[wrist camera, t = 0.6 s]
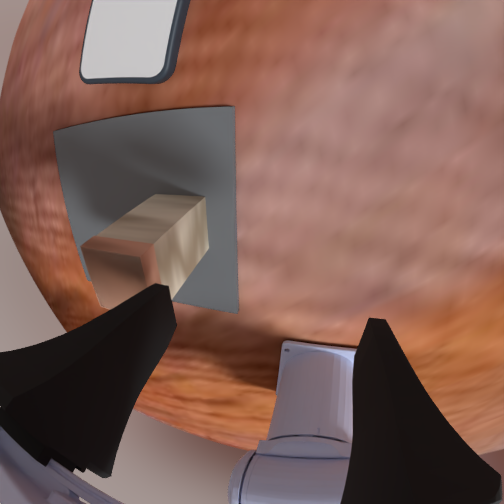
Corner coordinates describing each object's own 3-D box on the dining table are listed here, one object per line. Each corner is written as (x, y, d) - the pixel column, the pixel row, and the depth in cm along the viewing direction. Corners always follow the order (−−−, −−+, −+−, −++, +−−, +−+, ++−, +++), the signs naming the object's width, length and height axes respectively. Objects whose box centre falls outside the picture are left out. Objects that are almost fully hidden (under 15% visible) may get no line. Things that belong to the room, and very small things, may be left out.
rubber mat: (238, 309, 24) (237, 313, 23) (90, 277, 27) (87, 280, 27) (234, 106, 16) (232, 106, 15) (57, 130, 19) (53, 131, 19)
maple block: (209, 249, 21) (157, 323, 14) (161, 242, 22) (100, 306, 15) (206, 196, 19) (140, 256, 12) (154, 193, 20) (80, 246, 13)
